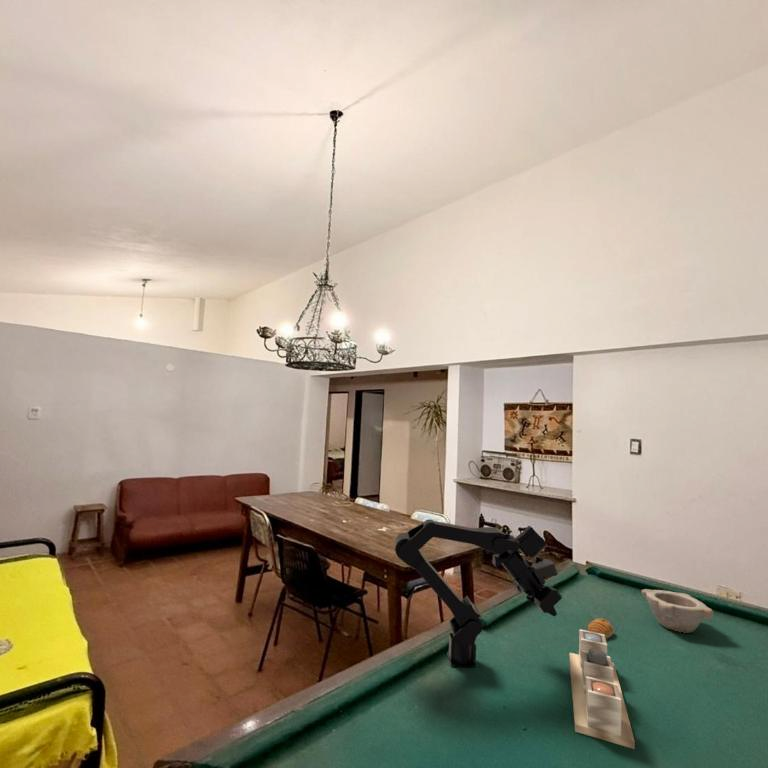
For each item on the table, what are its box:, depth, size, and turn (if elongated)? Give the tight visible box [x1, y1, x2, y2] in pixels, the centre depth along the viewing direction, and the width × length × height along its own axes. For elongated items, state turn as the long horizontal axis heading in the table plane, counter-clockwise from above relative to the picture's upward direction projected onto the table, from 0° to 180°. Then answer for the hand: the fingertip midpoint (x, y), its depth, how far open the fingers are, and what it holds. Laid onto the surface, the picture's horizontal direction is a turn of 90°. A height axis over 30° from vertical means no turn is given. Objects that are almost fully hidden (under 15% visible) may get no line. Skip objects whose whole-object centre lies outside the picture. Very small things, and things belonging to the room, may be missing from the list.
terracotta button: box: [593, 682, 613, 696], centre depth 92 cm, size 4×4×4 cm
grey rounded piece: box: [588, 649, 608, 666], centre depth 103 cm, size 4×4×4 cm
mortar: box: [641, 588, 714, 634], centre depth 142 cm, size 17×17×9 cm
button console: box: [569, 629, 636, 750], centre depth 103 cm, size 11×31×8 cm, turn 158°
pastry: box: [587, 618, 615, 640], centre depth 134 cm, size 9×7×4 cm
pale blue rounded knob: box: [585, 633, 601, 642], centre depth 114 cm, size 4×4×4 cm
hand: (555, 615), depth 115 cm, fingers closed
